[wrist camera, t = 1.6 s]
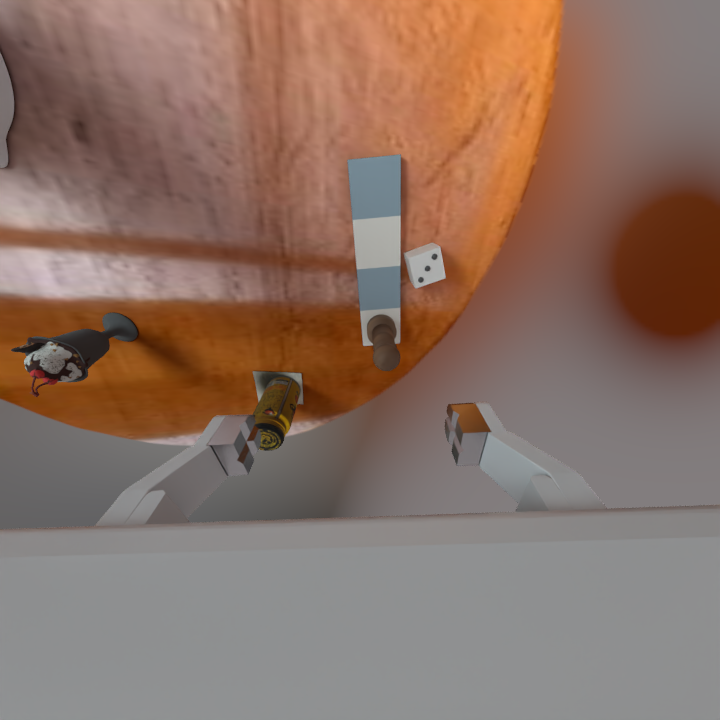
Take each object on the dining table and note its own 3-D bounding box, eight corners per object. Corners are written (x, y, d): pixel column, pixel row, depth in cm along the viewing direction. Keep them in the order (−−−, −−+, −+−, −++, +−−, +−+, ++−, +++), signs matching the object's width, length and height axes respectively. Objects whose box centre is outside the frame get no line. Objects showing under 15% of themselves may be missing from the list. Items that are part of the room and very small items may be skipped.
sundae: (146, 350, 43) (56, 412, 30) (101, 339, 42) (-12, 400, 29) (141, 314, 39) (37, 367, 27) (92, 302, 38) (-40, 351, 26)
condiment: (303, 403, 49) (289, 456, 39) (259, 401, 49) (233, 454, 39) (301, 372, 45) (285, 421, 35) (253, 370, 45) (222, 419, 35)
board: (363, 343, 42) (363, 345, 41) (347, 161, 30) (347, 159, 29) (399, 340, 42) (400, 343, 41) (399, 155, 30) (400, 154, 29)
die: (410, 280, 37) (415, 288, 34) (403, 252, 35) (408, 258, 32) (437, 271, 37) (446, 278, 33) (432, 242, 35) (440, 246, 31)
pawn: (367, 341, 41) (370, 380, 32) (365, 315, 39) (368, 350, 30) (395, 339, 41) (406, 378, 32) (394, 313, 39) (406, 347, 29)
